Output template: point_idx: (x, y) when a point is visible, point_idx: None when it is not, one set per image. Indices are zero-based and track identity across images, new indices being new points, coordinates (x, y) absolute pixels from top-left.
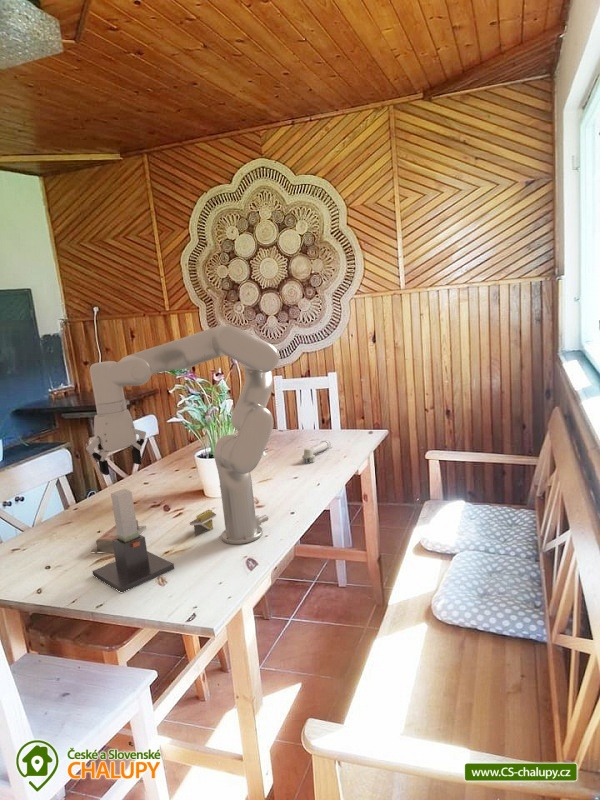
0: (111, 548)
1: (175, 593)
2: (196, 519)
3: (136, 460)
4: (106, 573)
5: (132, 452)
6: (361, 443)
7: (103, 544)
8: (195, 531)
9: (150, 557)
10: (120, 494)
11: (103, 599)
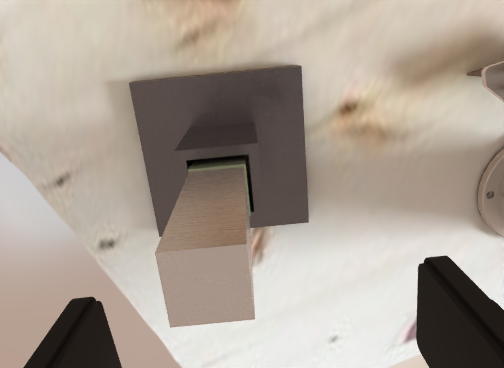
0: None
1: None
2: None
3: (434, 342)
4: (157, 133)
5: (487, 362)
6: None
7: None
8: (478, 75)
9: (287, 137)
10: (189, 318)
11: (121, 225)
